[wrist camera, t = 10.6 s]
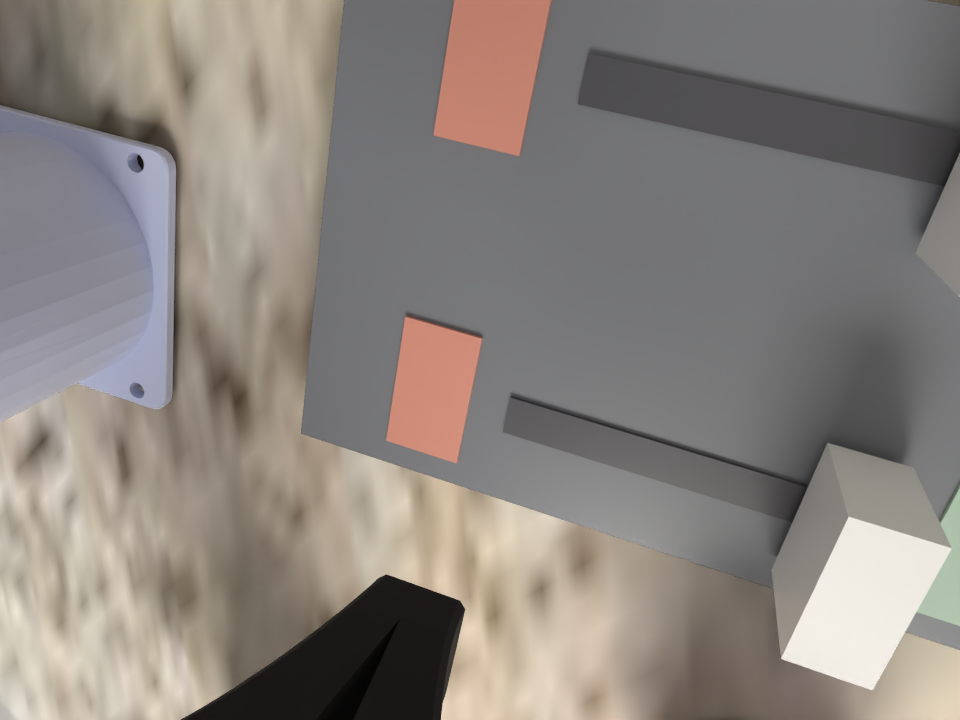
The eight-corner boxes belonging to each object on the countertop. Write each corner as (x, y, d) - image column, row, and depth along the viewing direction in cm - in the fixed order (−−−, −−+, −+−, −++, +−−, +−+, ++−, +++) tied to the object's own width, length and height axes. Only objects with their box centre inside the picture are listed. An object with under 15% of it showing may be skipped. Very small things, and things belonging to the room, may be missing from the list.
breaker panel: (326, 410, 22) (299, 435, 21) (383, -92, 17) (352, -105, 16) (1061, 646, 19) (1089, 695, 17) (1432, 101, 13) (1518, 107, 12)
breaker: (771, 570, 18) (780, 658, 15) (827, 442, 17) (848, 516, 14) (848, 595, 18) (872, 690, 15) (913, 467, 16) (952, 548, 14)
